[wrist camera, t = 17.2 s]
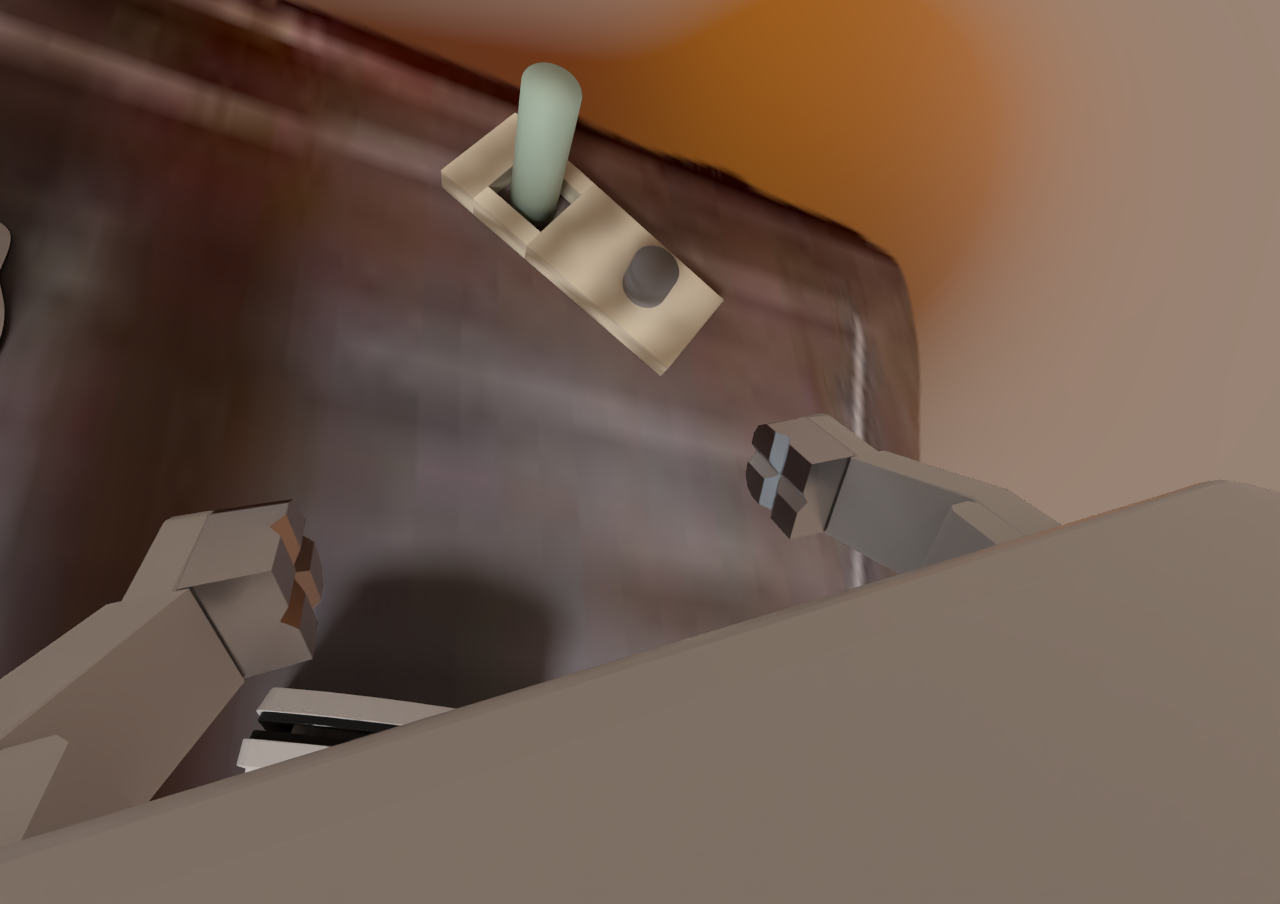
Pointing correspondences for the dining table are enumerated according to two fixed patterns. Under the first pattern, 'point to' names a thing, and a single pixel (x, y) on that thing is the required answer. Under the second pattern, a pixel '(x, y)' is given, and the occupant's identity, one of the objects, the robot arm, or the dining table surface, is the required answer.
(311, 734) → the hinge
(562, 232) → the hole plate
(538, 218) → the peg
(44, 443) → the dining table surface
